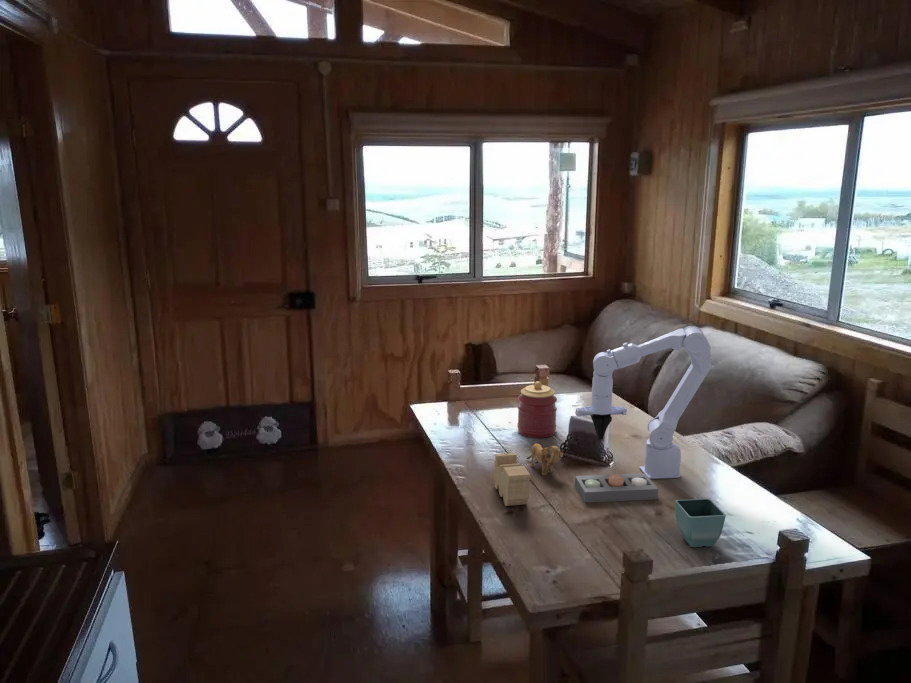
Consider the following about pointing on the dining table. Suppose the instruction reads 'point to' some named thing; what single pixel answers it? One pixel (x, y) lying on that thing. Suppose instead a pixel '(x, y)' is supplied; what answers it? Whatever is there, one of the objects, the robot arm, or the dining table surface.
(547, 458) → the lion figurine
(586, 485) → the sage button
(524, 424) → the canister
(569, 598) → the dining table surface
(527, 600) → the dining table surface
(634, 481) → the cream button
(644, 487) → the button panel
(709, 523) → the flower pot
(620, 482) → the terracotta button
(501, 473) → the toy train
